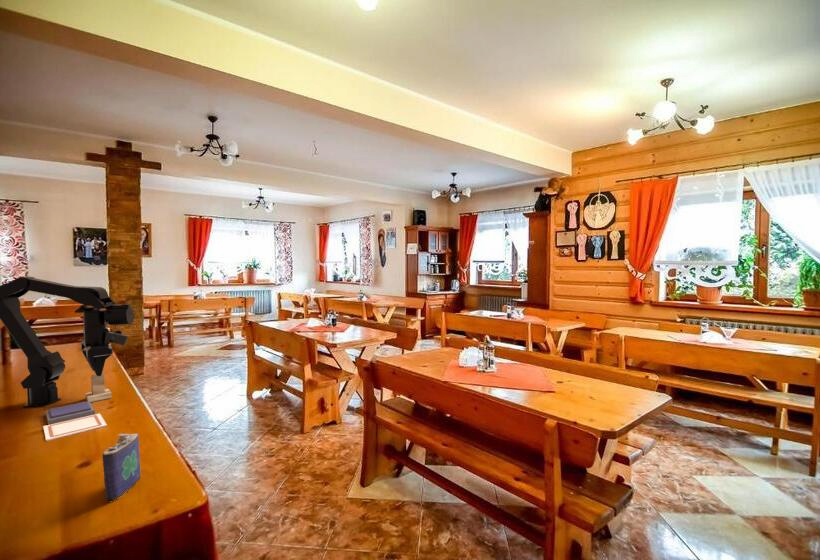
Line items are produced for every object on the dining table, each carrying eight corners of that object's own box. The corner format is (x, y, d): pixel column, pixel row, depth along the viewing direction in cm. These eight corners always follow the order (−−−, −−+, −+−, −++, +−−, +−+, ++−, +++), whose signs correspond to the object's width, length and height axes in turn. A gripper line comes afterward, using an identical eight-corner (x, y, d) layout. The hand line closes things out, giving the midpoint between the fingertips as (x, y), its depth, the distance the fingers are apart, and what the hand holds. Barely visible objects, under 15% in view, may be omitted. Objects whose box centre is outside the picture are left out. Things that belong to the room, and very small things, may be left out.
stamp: (85, 399, 126) (84, 375, 126) (108, 394, 131) (107, 371, 130) (88, 403, 122) (86, 378, 122) (111, 398, 127) (110, 374, 126)
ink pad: (46, 415, 113) (45, 408, 113) (90, 405, 120) (89, 399, 120) (48, 424, 106) (47, 418, 106) (94, 414, 113) (94, 407, 113)
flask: (130, 475, 79) (128, 424, 79) (145, 474, 80) (143, 423, 79) (100, 503, 70) (98, 445, 70) (118, 502, 70) (116, 444, 70)
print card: (43, 427, 104) (43, 425, 104) (99, 414, 113) (99, 413, 113) (46, 441, 96) (46, 439, 96) (106, 425, 104) (106, 424, 104)
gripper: (131, 325, 125) (133, 373, 125) (120, 320, 138) (121, 363, 138) (86, 330, 117) (88, 381, 117) (79, 324, 130) (81, 369, 130)
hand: (97, 373), depth 126 cm, fingers open, 9 cm apart
